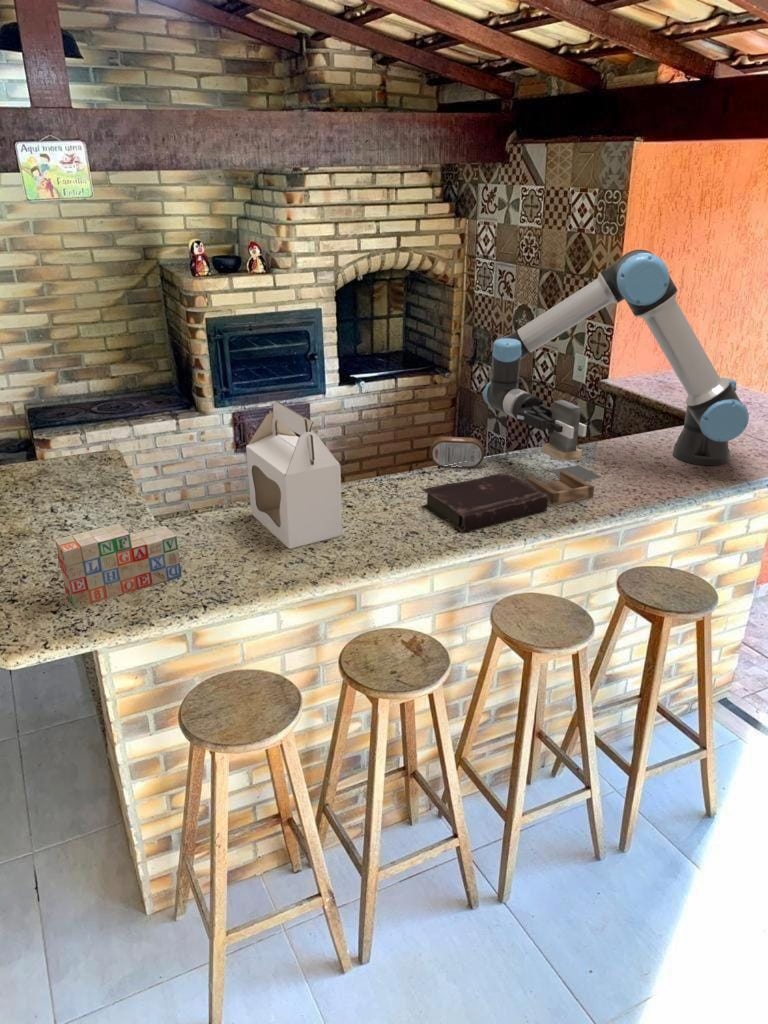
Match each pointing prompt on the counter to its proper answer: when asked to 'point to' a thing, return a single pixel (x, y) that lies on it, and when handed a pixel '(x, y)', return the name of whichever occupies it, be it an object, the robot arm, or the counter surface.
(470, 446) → the tin
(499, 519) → the diary
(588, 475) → the mat
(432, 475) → the counter surface
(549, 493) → the tray
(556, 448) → the grey tall block
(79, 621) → the counter surface
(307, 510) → the gable box
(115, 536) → the stack of blocks
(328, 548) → the counter surface
